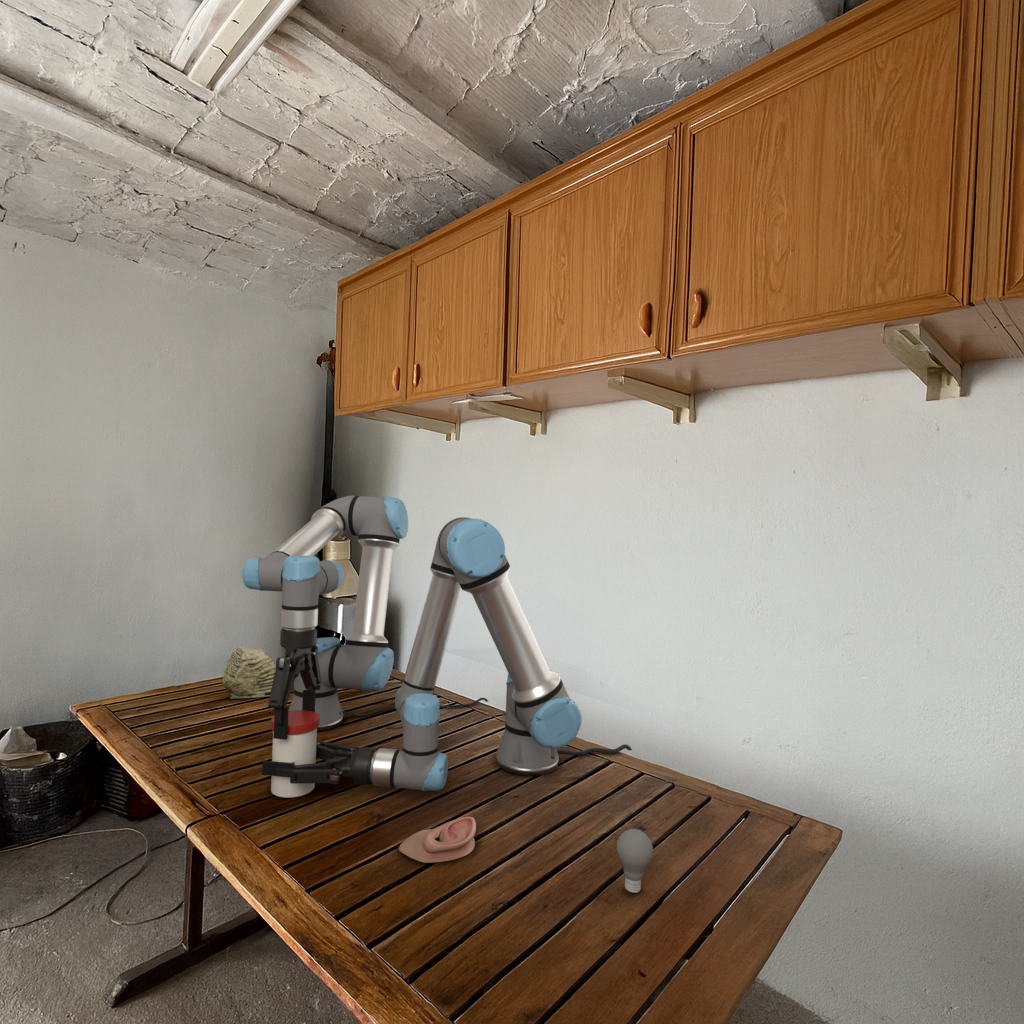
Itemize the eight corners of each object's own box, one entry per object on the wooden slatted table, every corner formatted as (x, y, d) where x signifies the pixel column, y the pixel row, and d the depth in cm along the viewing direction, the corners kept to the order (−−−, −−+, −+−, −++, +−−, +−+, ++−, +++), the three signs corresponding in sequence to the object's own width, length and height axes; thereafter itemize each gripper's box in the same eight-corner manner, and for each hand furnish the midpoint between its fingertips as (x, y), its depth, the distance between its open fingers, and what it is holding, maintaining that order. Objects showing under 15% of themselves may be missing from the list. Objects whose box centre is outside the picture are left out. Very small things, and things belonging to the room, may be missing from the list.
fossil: (218, 695, 195) (220, 647, 195) (278, 685, 208) (279, 640, 207) (228, 703, 189) (230, 653, 188) (289, 692, 201) (290, 645, 201)
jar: (270, 781, 140) (273, 714, 139) (313, 776, 143) (315, 711, 143) (271, 800, 131) (273, 729, 131) (316, 794, 135) (319, 725, 134)
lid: (270, 720, 140) (270, 712, 140) (317, 716, 143) (317, 708, 143) (271, 736, 131) (271, 728, 130) (321, 732, 134) (321, 723, 134)
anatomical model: (392, 835, 112) (415, 805, 123) (391, 857, 112) (414, 825, 123) (465, 847, 109) (481, 815, 121) (464, 869, 109) (480, 835, 121)
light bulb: (610, 879, 108) (613, 822, 108) (644, 879, 109) (647, 822, 109) (619, 902, 102) (622, 840, 102) (655, 901, 103) (658, 840, 103)
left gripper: (309, 617, 149) (305, 709, 149) (252, 637, 126) (247, 746, 126) (339, 619, 148) (335, 712, 148) (287, 640, 124) (282, 750, 125)
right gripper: (357, 808, 125) (247, 798, 127) (388, 763, 146) (295, 755, 148) (358, 770, 125) (249, 761, 127) (390, 731, 146) (296, 723, 148)
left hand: (294, 728), depth 137 cm, fingers open, 11 cm apart
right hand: (274, 758), depth 138 cm, fingers closed on jar, 9 cm apart
